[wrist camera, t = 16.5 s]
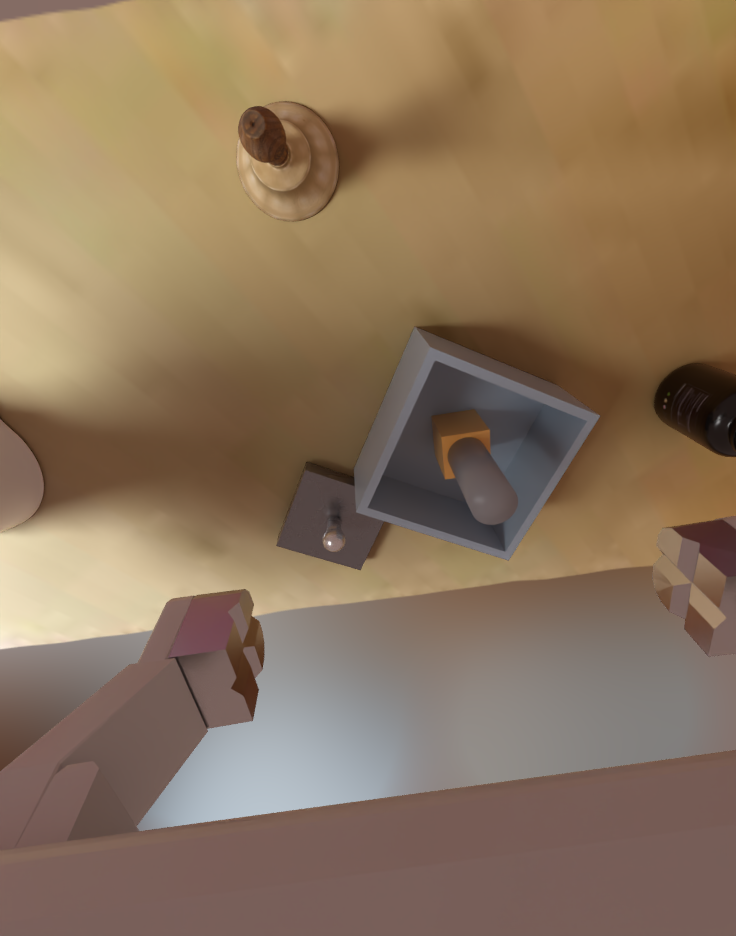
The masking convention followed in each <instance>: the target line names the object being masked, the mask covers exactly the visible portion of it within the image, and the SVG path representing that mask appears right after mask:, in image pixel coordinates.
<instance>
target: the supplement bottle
mask: <svg viewBox="0 0 736 936" xmlns="http://www.w3.org/2000/svg"><path fill="white" fill-rule="evenodd" d="M654 406H655V411H656V414H657V415H658V417H659V418H660V419H661V420H662V421H663V422H664V423H665V424H667V425H669V426H670V427H672V428H673V429H675V430H677V431H678V432H680V433H682V434H683V435H685V436H687V437H689V438H690V439H692V440H694V441H695V442H697V443H699V444H700V445H702V446H704V447H705V448H707V449H709V450H710V451H712V452H714V453H716V454H718V455H721V456H725V457H736V375H735V374H732V373H729V372H727V371H724V370H721V369H718V368H715V367H712V366H709V365H706V364H700V363H695V364H688V365H685V366H682V367H680V368H678V369H676V370H675V371H673V372H672V373H670V374H669V375H668V376H667V377H666V378H665V379H664V380H663V381H662V383H661V384H660V386H659V388H658V390H657V392H656V395H655V400H654Z"/></svg>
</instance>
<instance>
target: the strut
mask: <svg viewBox="0 0 736 936" xmlns="http://www.w3.org/2000/svg"><path fill="white" fill-rule="evenodd" d="M431 419H432V430H433V441H434V452H435V457H436V459H437V461H438V464H439V466H440V469H441V471H442V473H443V476H444V478H445V480H446V479H452V478H456V480H457V482H458V484H459V486H460V488H461V491H462V493H463V495H464V497H465V499H466V501H467V504H468V506H469V508H470V510H471V512H472V514H473V516H474V518H475V519H476V520H477V521H479V522H481V523H483V524H487V525H496V524H500V523H502V522H504V521H506V520H508V519H509V518H510V517H511V516H512V515H513V514H514V513H515V511H516V509H517V506H518V497H517V494H516V492H515V491H514V489H513V488H512V486H511V485H510V483H509V482H508V480H507V479H506V477H505V476H504V474H503V473H502V471H501V470H500V468H499V467H498V465H497V464H496V462H495V461H494V459H493V458H492V456H491V451H490V429H489V428H488V427H487V425H486V424H485V423H484V421H483V420H482V419H481V417H480V416H479V414H478V413H477V412H476V410H475V409H472V410H465V411H459V412H452V413H446V414H439V415H433V416H431Z"/></svg>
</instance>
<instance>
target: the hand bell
mask: <svg viewBox="0 0 736 936" xmlns="http://www.w3.org/2000/svg"><path fill="white" fill-rule="evenodd" d="M238 132H239V141H238V145H237V156H236V158H237V169H238V174H239V177H240V181H241V183H242V186H243V188H244V190H245V192H246V193H247V195H248V196H249V198H250V199H251V200H252V202H253V203H254V204H255V205H256V206H257V207H258V208H259V209H260V210H262V211H263V212H264V213H266V214H267V215H269V216H271V217H273V218H276V219H279V220H283V221H300V220H304V219H307V218H310V217H311V216H313V215H315V214H316V213H318V212H319V211H320V210H321V209H323V207H324V206H325V205H326V204H327V203H328V201H329V200H330V198H331V196H332V194H333V192H334V190H335V187H336V184H337V180H338V174H339V158H338V152H337V147H336V144H335V141H334V139H333V137H332V135H331V133H330V131H329V129H328V128H327V126H326V125H325V123H324V122H323V121H322V120H321V119H320V118H319V117H318V116H317V115H316V114H315V113H314V112H313V111H311V110H310V109H308V108H306V107H304V106H302V105H300V104H297V103H293V102H275V103H271V104H268V105H266V106H264V107H262V106H255V107H251V108H249V109H247V110H246V111H245V112H244V113H243V114H242V116H241V118H240V121H239V126H238Z"/></svg>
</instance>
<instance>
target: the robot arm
mask: <svg viewBox="0 0 736 936" xmlns="http://www.w3.org/2000/svg"><path fill="white" fill-rule="evenodd" d="M43 491H44V483H43V476H42V472H41V469H40V466H39V464H38V462H37V460H36V458H35V456H34V455H33V453H32V451H31V450H30V449H29V447H28V446H27V445H26V444H25V442H24V441H23V440H22V439H21V438H20V437H19V436H18V435H17V434H16V433H15V432H14V431H12V430H11V429H10V428H9V427H8V426H7V425H6V424H5V423H4V422H3V421H2V420H1V419H0V533H1V532H3V531H5V530H7V529H10V528H12V527H15V526H17V525H19V524H21V523H23V522H25V521H26V520H28V519H29V518H30V517H31V516H32V515H33V514H34V513H35V512H36V511H37V509H38V507H39V506H40V503H41V501H42V497H43ZM657 547H658V548H659V549H660V551H661V552H662V553H663V554H662V555H661V557H660V558H659V559H658V560H657V561H656V562H655V563H654V567H653V577H652V579H653V583H654V587H655V591H656V593H657V595H658V597H659V599H660V601H661V602H662V604H663V605H664V606H665V607H666V608H667V610H668V611H669V612H671V613H673V614H675V615H677V616H679V617H681V618H683V619H685V624H684V629H685V631H686V632H687V633H688V634H689V635H690V637H691V638H692V639H693V640H694V641H695V642H696V643H697V645H698V646H699V647H700V648H701V649H702V650H703V651H704V652H705V654H706V655H707V656H708V657H710V656H719V655H727V654H736V516H731V517H725V518H719V519H715V520H713V521H706V522H699V523H692V524H686V525H679V526H673V527H666V528H662V530H661V531H660V533H659V535H658V540H657ZM253 606H254V603H253V601H252V598H251V595H250V593H249V591H247V590H246V589H241V590H233V591H225V592H217V593H209V594H201V595H196V596H188V597H180V598H173V599H171V600H170V601H168V602H167V603H166V605H165V607H164V609H163V611H162V613H161V615H160V617H159V619H158V621H157V623H156V625H155V627H154V630H153V632H152V634H151V636H150V638H149V640H148V642H147V644H146V646H145V648H144V650H143V652H142V655H141V657H140V659H139V661H138V663H136V664H130V665H128V666H127V667H126V668H125V669H123V670H122V671H121V672H120V673H119V674H117V675H116V676H115V677H114V678H113V679H111V680H110V681H109V682H108V683H107V684H105V685H104V686H103V687H102V688H100V689H99V690H98V691H97V692H96V693H95V694H93V695H92V696H91V697H90V698H88V699H87V700H86V701H85V702H84V703H82V704H81V705H80V706H79V707H78V708H77V709H75V710H74V711H73V712H72V713H70V714H69V715H68V716H67V717H66V718H65V719H63V720H62V721H61V722H60V723H58V724H57V725H56V726H55V727H53V728H52V729H51V730H50V731H49V732H48V733H46V734H45V735H44V736H43V737H42V738H40V739H39V740H38V741H37V742H35V743H34V744H33V745H32V746H31V747H29V748H28V749H27V750H26V751H25V752H23V753H22V754H21V755H20V756H19V757H17V758H16V759H15V760H14V761H13V762H11V763H10V764H9V765H8V766H6V767H5V768H4V769H3V770H2V771H1V772H0V936H736V750H732V751H724V752H718V753H710V754H703V755H695V756H688V757H681V758H674V759H666V760H659V761H652V762H645V763H637V764H630V765H623V766H615V767H608V768H601V769H593V770H586V771H579V772H571V773H564V774H556V775H549V776H542V777H534V778H527V779H519V780H512V781H505V782H497V783H490V784H483V785H476V786H468V787H460V788H453V789H446V790H438V791H431V792H424V793H416V794H409V795H402V796H394V797H387V798H380V799H373V800H365V801H358V802H350V803H343V804H336V805H329V806H322V807H314V808H306V809H299V810H292V811H285V812H277V813H270V814H262V815H255V816H248V817H240V818H233V819H226V820H218V821H211V822H204V823H197V824H189V825H182V826H174V827H167V828H161V829H152V830H145V831H139V830H138V828H137V827H136V826H137V825H138V824H139V822H140V821H141V820H142V818H143V817H144V815H145V814H146V813H147V812H148V810H149V809H150V808H151V806H152V805H153V804H154V802H155V801H156V800H157V798H158V797H159V796H160V794H161V793H162V792H163V790H164V789H165V788H166V786H167V785H168V784H169V782H170V781H171V780H172V778H173V777H174V776H175V774H176V773H177V772H178V770H179V769H180V768H181V766H182V765H183V763H184V762H185V761H186V760H187V758H188V757H189V756H190V754H191V753H192V752H193V750H194V749H195V748H196V746H197V745H198V744H199V742H200V741H201V740H202V738H203V737H204V735H205V734H206V733H207V732H208V730H207V729H208V728H214V727H219V726H226V725H231V724H237V723H243V722H249V721H253V717H254V712H255V707H256V701H257V696H258V691H259V689H258V686H257V683H256V680H255V678H256V676H257V675H258V674H259V673H260V672H261V671H262V669H263V663H264V638H263V632H262V628H261V625H260V622H259V621H258V620H257V619H255V618H254V617H252V616H251V615H252V611H253Z"/></svg>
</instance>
